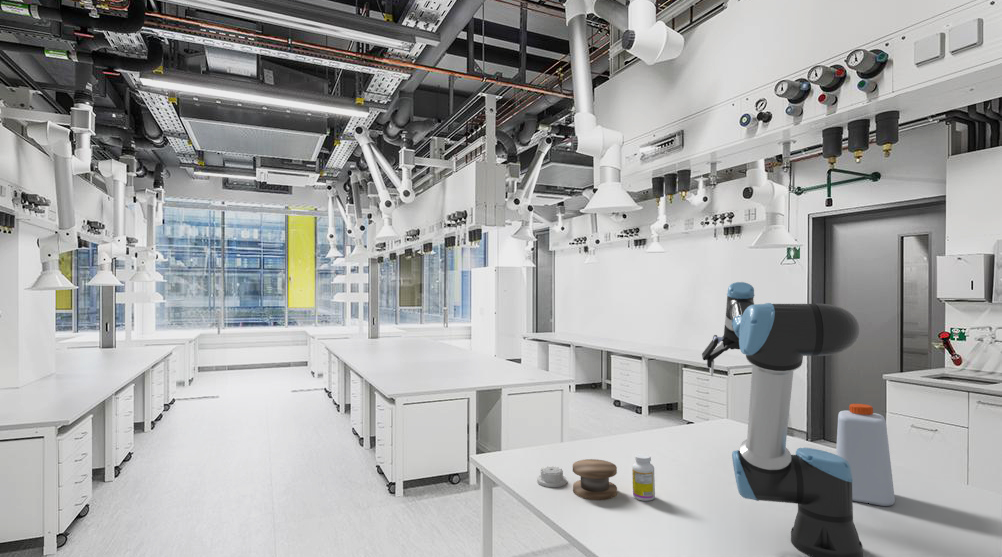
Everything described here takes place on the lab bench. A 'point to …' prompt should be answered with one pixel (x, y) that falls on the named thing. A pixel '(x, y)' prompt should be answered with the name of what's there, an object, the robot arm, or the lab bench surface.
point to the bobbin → (594, 479)
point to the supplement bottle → (643, 478)
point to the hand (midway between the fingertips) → (732, 373)
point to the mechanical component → (551, 477)
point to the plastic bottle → (866, 454)
